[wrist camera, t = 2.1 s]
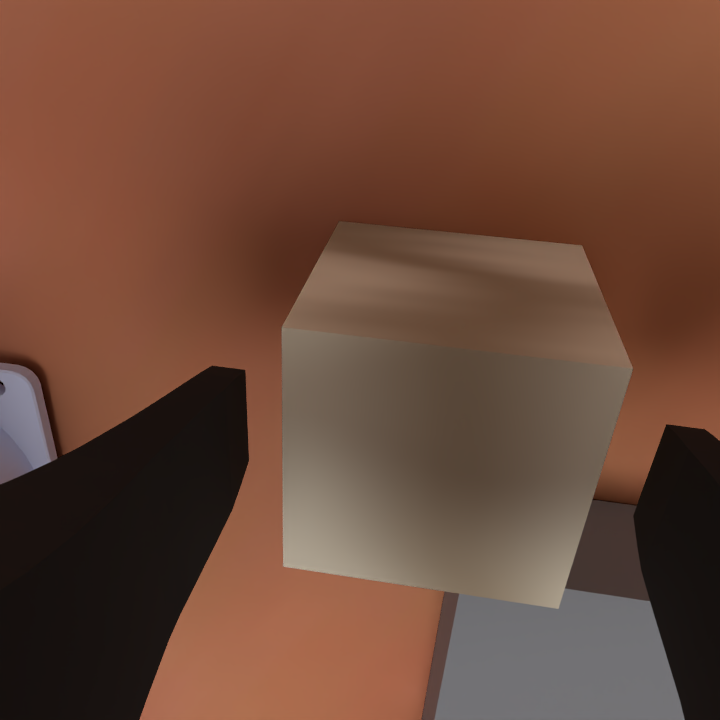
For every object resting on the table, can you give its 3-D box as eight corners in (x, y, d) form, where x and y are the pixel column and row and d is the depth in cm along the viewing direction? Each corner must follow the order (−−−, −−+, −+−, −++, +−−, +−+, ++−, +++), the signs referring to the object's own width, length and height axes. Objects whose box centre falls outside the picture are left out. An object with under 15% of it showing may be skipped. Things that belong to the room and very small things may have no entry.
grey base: (417, 745, 23) (410, 843, 20) (464, 482, 17) (463, 573, 14) (778, 809, 22) (819, 920, 19) (970, 551, 16) (1069, 664, 13)
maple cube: (331, 413, 16) (283, 566, 12) (340, 219, 14) (281, 327, 10) (534, 439, 16) (558, 609, 12) (581, 243, 13) (633, 368, 9)
